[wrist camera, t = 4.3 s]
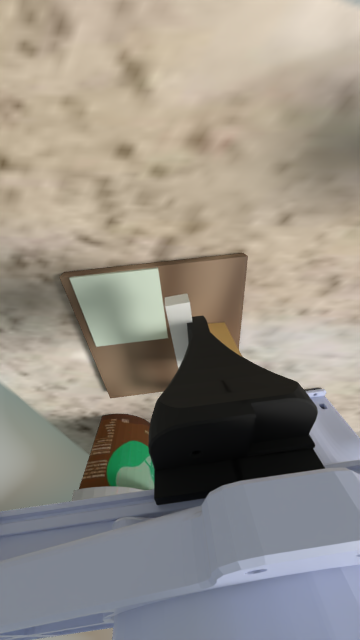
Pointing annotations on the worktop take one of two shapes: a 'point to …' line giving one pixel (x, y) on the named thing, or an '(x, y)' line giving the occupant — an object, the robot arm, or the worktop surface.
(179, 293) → the brown tray
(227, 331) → the plug block
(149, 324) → the sage mat
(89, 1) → the worktop surface
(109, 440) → the food container
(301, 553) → the robot arm
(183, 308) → the strap
